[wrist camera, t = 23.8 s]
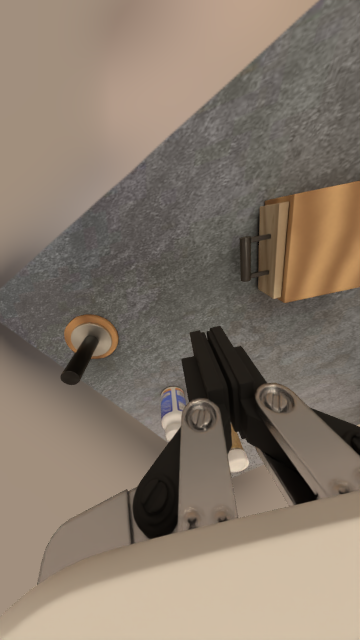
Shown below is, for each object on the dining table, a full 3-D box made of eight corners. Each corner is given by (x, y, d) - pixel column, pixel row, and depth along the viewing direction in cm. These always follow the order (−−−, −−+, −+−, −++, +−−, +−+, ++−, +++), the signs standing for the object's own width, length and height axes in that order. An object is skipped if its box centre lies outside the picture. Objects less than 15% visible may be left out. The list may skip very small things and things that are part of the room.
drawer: (234, 294, 32) (246, 304, 28) (230, 212, 26) (245, 210, 22) (333, 273, 32) (360, 280, 28) (351, 187, 26) (388, 180, 22)
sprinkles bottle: (227, 407, 47) (251, 468, 35) (211, 412, 47) (229, 475, 36) (223, 395, 45) (247, 457, 33) (205, 402, 45) (223, 465, 33)
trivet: (79, 360, 36) (77, 363, 35) (56, 320, 32) (54, 322, 31) (125, 350, 36) (124, 353, 35) (108, 309, 32) (107, 311, 31)
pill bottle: (161, 403, 44) (161, 446, 35) (160, 386, 41) (161, 429, 33) (183, 401, 44) (190, 443, 36) (184, 384, 42) (191, 426, 33)
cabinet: (262, 289, 33) (284, 303, 27) (264, 200, 27) (294, 194, 21) (340, 272, 33) (379, 282, 27) (362, 180, 27) (418, 168, 21)
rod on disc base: (82, 357, 35) (57, 400, 26) (64, 326, 31) (30, 364, 23) (117, 350, 35) (104, 390, 26) (104, 318, 32) (84, 353, 23)
